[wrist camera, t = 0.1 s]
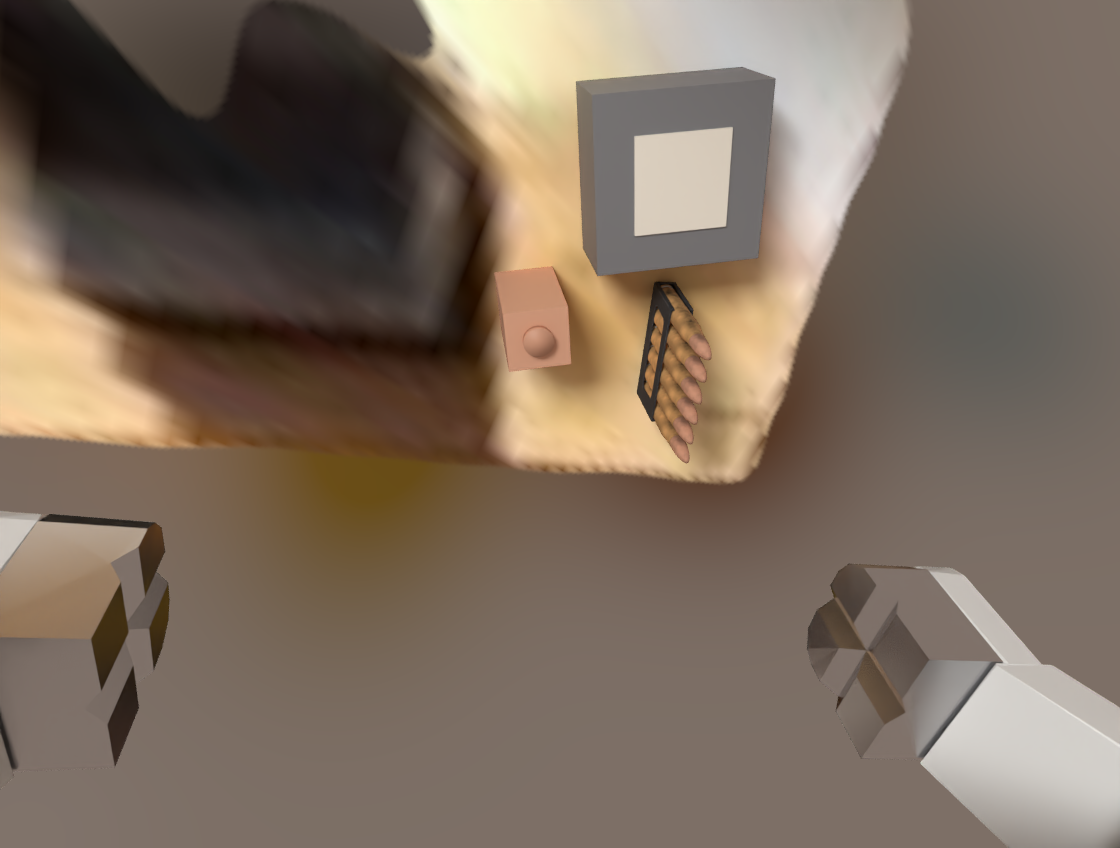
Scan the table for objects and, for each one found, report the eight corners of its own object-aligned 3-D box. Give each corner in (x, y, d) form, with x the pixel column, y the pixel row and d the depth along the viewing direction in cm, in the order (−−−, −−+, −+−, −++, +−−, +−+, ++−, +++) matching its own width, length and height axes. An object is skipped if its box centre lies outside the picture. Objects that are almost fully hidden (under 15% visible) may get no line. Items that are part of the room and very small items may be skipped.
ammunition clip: (656, 394, 65) (696, 472, 55) (636, 394, 65) (673, 472, 55) (675, 282, 59) (724, 346, 49) (654, 281, 59) (699, 346, 49)
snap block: (494, 272, 57) (503, 317, 50) (552, 266, 57) (569, 309, 50) (500, 325, 59) (510, 375, 52) (555, 319, 60) (572, 367, 52)
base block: (576, 81, 50) (592, 95, 45) (742, 67, 51) (776, 78, 46) (583, 248, 57) (598, 277, 51) (729, 232, 58) (759, 258, 53)
